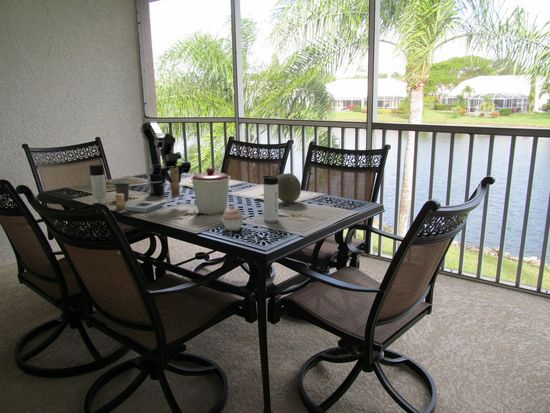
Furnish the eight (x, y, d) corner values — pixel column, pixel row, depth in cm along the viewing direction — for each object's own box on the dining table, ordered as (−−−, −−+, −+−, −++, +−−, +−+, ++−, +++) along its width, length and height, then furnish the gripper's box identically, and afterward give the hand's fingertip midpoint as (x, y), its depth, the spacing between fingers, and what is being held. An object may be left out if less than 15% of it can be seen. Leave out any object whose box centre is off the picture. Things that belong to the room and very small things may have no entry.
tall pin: (169, 196, 211) (167, 168, 207) (174, 195, 214) (172, 167, 211) (176, 197, 209) (174, 168, 206) (181, 195, 213) (179, 167, 209)
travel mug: (262, 219, 191) (262, 174, 186) (277, 218, 192) (277, 174, 187) (263, 223, 185) (263, 177, 180) (279, 222, 186) (278, 176, 181)
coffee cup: (134, 198, 232) (132, 180, 229) (123, 202, 224) (121, 183, 222) (123, 197, 235) (121, 179, 232) (111, 200, 228) (109, 181, 225)
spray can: (110, 202, 224) (106, 163, 219) (101, 205, 218) (96, 165, 213) (99, 201, 226) (95, 163, 221) (90, 204, 220) (85, 165, 215)
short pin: (114, 208, 211) (113, 194, 209) (120, 207, 214) (119, 193, 213) (121, 209, 209) (119, 195, 207) (126, 207, 213) (125, 193, 211)
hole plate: (126, 210, 208) (125, 206, 208) (142, 204, 219) (142, 200, 218) (146, 212, 203) (145, 208, 203) (162, 206, 214) (161, 202, 214)
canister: (197, 207, 213) (194, 164, 208) (233, 207, 213) (232, 164, 208) (188, 217, 196) (186, 170, 191) (228, 217, 195) (227, 170, 190)
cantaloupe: (286, 198, 231) (286, 170, 227) (306, 202, 221) (306, 173, 217) (267, 202, 221) (267, 173, 217) (287, 207, 211) (287, 177, 208)
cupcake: (217, 230, 175) (216, 206, 173) (227, 224, 184) (227, 201, 181) (238, 233, 172) (237, 208, 170) (247, 226, 181) (247, 203, 178)
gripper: (150, 147, 205) (158, 174, 198) (188, 145, 214) (197, 170, 207) (147, 162, 213) (155, 188, 207) (184, 159, 222) (192, 184, 216)
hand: (175, 182), depth 209 cm, fingers closed on tall pin, 4 cm apart
